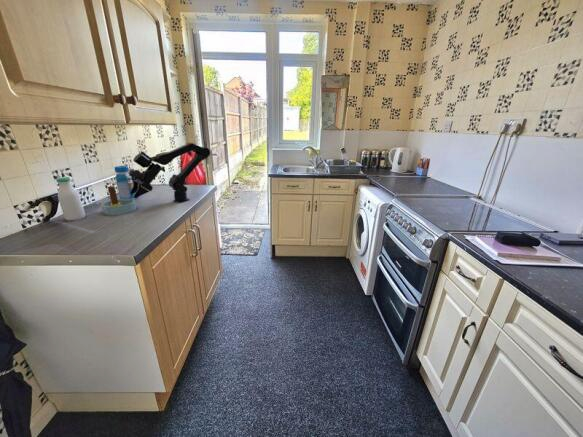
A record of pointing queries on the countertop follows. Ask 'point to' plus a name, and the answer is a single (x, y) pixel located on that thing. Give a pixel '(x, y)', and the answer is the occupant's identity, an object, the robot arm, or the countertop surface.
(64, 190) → the milk bottle
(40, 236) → the countertop surface
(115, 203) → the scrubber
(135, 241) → the countertop surface
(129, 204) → the bowl
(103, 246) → the countertop surface
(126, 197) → the beverage bottle
